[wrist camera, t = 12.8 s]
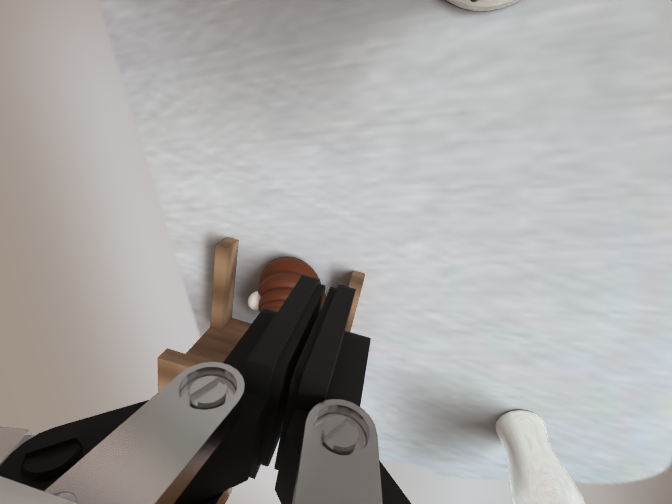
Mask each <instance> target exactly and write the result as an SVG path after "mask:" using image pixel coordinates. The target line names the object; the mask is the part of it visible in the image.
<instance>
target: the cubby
mask: <svg viewBox="0 0 672 504" xmlns="http://www.w3.org/2000/svg"><path fill="white" fill-rule="evenodd" d="M238 241H239V240H236V239H232V238H228V237H227V238H226V239H224V240H223V241H221V242H220V243H218V244H217V245H215V261H214V277H213V293H212V309H211V325H210V328H209V329H208V330H207V331H206V333H205V334H204V335H203V336H202V337H201V338H200V339H199V340H198V341H197V342H196V343H195V344H194V346H193V347H192V348H191V349H190V350H189V351H188V352H187V353H186V354H183V353H180V352H177V351H174V350H170V349H166V350H165V351H164V352H163V353H162V354H161V355H160V356H159V357H158V392H159V391H160V390H161V389H163V388H164V387H165V386H166V385H167V384H168V383H169V382H171V381H172V380H173V379H174V378H175V377H176V376H178V375H179V374H180V373H181V372H183V371H184V370H186V369H187V368H189V367H191V366H194V365H197V364H199V363H206V362H220V363H223V362H224V361H225V359H226V358H227V357H228V355H229V354H230V352H231V351H232V350H233V348H234V347H235V346H236V344H237V343H238V342H239V340H240V339H241V338H242V336H243V335H244V334H245V332H246V331H247V330H248V328H249V327H250V326H251V324H250V323H246V322H243V321H239V320H236V319H233V318H231V317H232V306H233V295H234V284H235V273H236V262H237V252H238ZM364 277H365V274H363V273H360V272H356V271H353V273H352V276H351V279H350V282H349V286H348V287H350V288H354V289H356V292H355V295H354V299H353V303H352V307H351V311H350V315H349V319H348V323H347V327H346V331H347V332H350V330H351V326H352V323H353V319H354V315H355V311H356V307H357V304H358V300H359V296H360V292H361V288H362V285H363V281H364Z"/></svg>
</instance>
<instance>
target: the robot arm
mask: <svg viewBox="0 0 672 504" xmlns="http://www.w3.org/2000/svg"><path fill="white" fill-rule="evenodd" d="M447 1H448V2H450V3H452V4H454V5H456V6H458V7H460V8H464V9H468V10H472V11H490V10H495V9H501V8H504V7H506V6H509V5H511V4H514V3H516V2H518V1H520V0H476V1H475V2H472V1H471V0H447ZM324 292H325V285H321V284H320V279H317V278H313V277H310V276H306V275H302V276H301V277H300V279H299V280H298V282H297V283H296V285H295V286H294V288H293V290H292V291H291V293H290V294H289V296H288V297H287V299H286V300H285V302H284V303H283V305H282V306H281V308H280V309H279V311H278V312H277V311H273V310H270V309H266V308H265V309H263V310H262V311H261V312H260V313H259V315H258V316H257V317H256V319H255V320H254V321H253V323H252V324H251V326H250V327H249V328H248V330H247V331H246V332H245V334H244V335H243V336H242V338H241V339H240V340H239V342H238V343H237V344H236V346H235V347H234V348H233V350H232V351H231V352H230V354H229V355H228V357H227V358H226V359H225V361H224V362H223V363H220V362H206V363H199V364H197V365H194V366H191V367H189V368H187V369H186V370H184V371H183V372H181V373H180V374H179V375H178V376H176V377H175V378H174V379H173V380H172V381H171V382H169V383H168V384H167V385H166V386H165V387H164V388H163V389H161V390H160V391H159V392H158V393H157V394H156V395H155V396H153V397H152V398H151V399H150V400H147V401H144V402H140V403H137V404H134V405H130V406H127V407H123V408H120V409H116V410H113V411H109V412H106V413H102V414H99V415H96V416H92V417H89V418H85V419H82V420H78V421H75V422H71V423H68V424H65V425H61V426H58V427H55V428H52V429H49V430H47V431H44V432H42V433H39V434H37V435H36V436H34V435H31V431H30V429H21V428H10V427H0V504H225V503H226V501H227V499H228V497H229V495H230V493H231V491H232V487H234V486H236V485H238V484H240V483H242V482H244V481H246V480H248V477H251V478H254V479H255V477H256V474H257V472H258V470H259V467H260V465H261V464H262V465H265V466H269V464H270V461H271V458H272V456H273V454H274V451H275V449H276V446H277V443H278V441H279V438H280V442H279V447H278V452H277V458H276V463H275V469H277V470H279V471H278V476H277V481H276V486H275V491H276V492H277V495H278V497H279V499H280V501H281V504H411V503H410V501H409V500H408V499H407V497H406V496H405V495H404V493H403V492H402V490H401V489H400V488H399V486H398V485H397V484H396V482H395V481H394V480H393V478H392V477H391V476H390V474H389V473H388V472H387V470H386V469H385V467H384V466H383V465H382V463H381V462H380V461H379V452H378V439H377V432H376V428H375V424H374V423H373V421H372V419H371V418H370V416H369V415H368V414H367V413H366V412H365V411H364V410H363V409H362V408H361V407H360V403H361V397H362V390H363V384H364V378H365V371H366V365H367V358H368V352H369V346H370V338H368V337H365V336H361V335H358V334H354V333H351V332H347V331H346V327H347V323H348V319H349V315H350V311H351V307H352V303H353V299H354V295H355V292H356V289H354V288H350V287H347V286H343V285H338V287H337V289H336V288H332V287H330V290H329V292H328V294H327V296H326V299H325V301H324V303H323V305H322V301H323V297H324ZM321 306H322V308H321Z"/></svg>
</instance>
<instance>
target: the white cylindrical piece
mask: <svg viewBox="0 0 672 504" xmlns="http://www.w3.org/2000/svg"><path fill="white" fill-rule="evenodd" d="M496 432H497V435H498V437H499V439H500V441H501V442H502V444H503V446H504V449H505V452H506V455H507V460H508V469H509V480H510V489H511V495H512V501H513V504H586V503H585V501H584V499H583V497H582V495H581V493H580V492H579V490H578V489H577V487H576V485H575V483H574V482H573V480H572V478H571V477H570V475H569V474H568V472H567V471H566V469H565V468H564V467H563V465H562V464H561V462H560V461H559V459H558V458H557V456H556V454H555V453H554V451H553V449H552V447H551V445H550V442H549V439H548V435H547V430H546V426H545V423H544V421H543V420H542V419H541V418H540V417H539V416H538V415H536V414H535V413H533V412H530V411H525V410H514V411H510V412H507V413H505V414H503V415H502V416H501V417H500V418H499V419H498V420H497V422H496Z"/></svg>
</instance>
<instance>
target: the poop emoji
mask: <svg viewBox="0 0 672 504" xmlns="http://www.w3.org/2000/svg"><path fill="white" fill-rule="evenodd" d="M302 275H306V276H310V277H313V278H317V279H319V278H318V276H317V274H316V273H315V271H314V270H313V269H312V268H311V267H310V266H309V265H308V264H307V263H305V262H303V261H302V260H299V259H296V258H291V257H284V258H279V259H276V260H274V261H273V262H271V263H270V264H269V265H268V266H267V267H266V268H265V269H264V271H263V273H262V276H261V279H260V284H259V289H258V291H256V292H254V293H252V294H251V295H250V297H249V299H248V306H249V307H250V308H251V309H252V310H255V311H260V312H261V311H262V310H263V309H265V308H266V309H270V310H273V311H277V312H278V311H279V309H280V308H281V306H282V305H283V303H284V302H285V300H286V299H287V297H288V296H289V294H290V293H291V291H292V290H293V288H294V286H295V285H296V283H297V282H298V280H299V279H300V277H301V276H302ZM320 284H321V282H320ZM325 299H326V295H325V292H324V297H323V301H322V305H323V303H324V301H325ZM321 308H322V306H321Z"/></svg>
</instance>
